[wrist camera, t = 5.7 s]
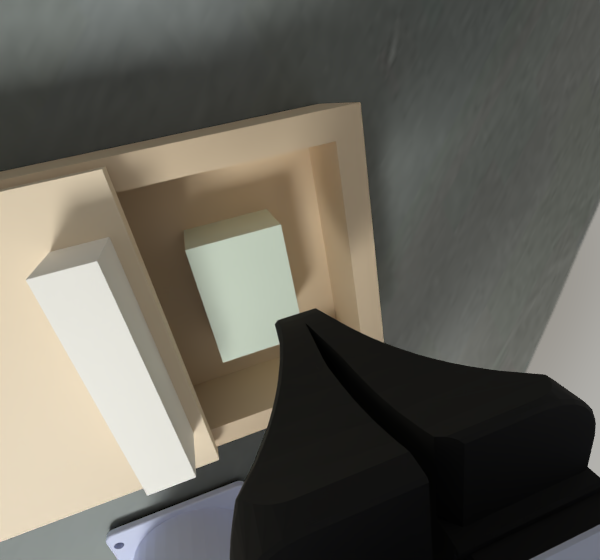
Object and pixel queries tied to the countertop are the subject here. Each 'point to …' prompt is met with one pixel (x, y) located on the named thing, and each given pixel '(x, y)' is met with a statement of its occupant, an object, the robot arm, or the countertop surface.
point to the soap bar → (242, 280)
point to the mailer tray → (235, 202)
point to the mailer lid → (85, 360)
